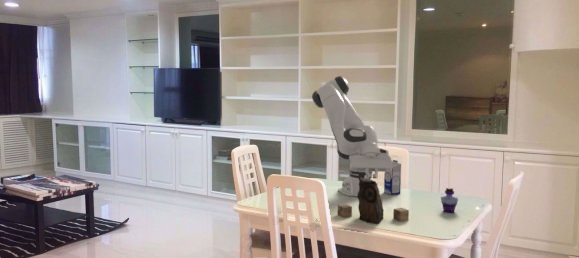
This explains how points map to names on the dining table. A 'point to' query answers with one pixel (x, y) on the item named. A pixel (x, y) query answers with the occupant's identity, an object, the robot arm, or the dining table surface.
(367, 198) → the dark brown speaker
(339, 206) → the walnut block one
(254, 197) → the dining table surface
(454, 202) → the potion bottle
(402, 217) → the walnut block two
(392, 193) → the milk carton
